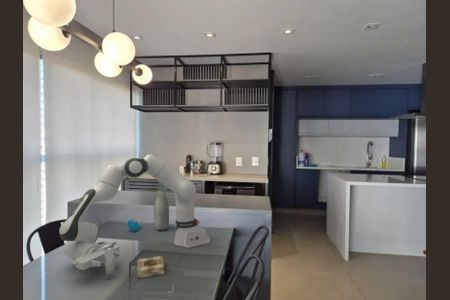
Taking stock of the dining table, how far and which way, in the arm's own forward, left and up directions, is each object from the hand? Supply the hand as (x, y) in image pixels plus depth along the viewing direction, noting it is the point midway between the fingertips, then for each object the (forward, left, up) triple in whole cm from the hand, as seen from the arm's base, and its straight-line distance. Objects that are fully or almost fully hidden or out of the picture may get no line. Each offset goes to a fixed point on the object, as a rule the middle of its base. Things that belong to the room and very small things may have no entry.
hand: (110, 259), depth 118 cm
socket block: (-18, -1, -8) cm, 20 cm away
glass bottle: (-28, -58, -9) cm, 65 cm away
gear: (-9, -63, -9) cm, 64 cm away
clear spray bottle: (0, 0, -8) cm, 8 cm away
